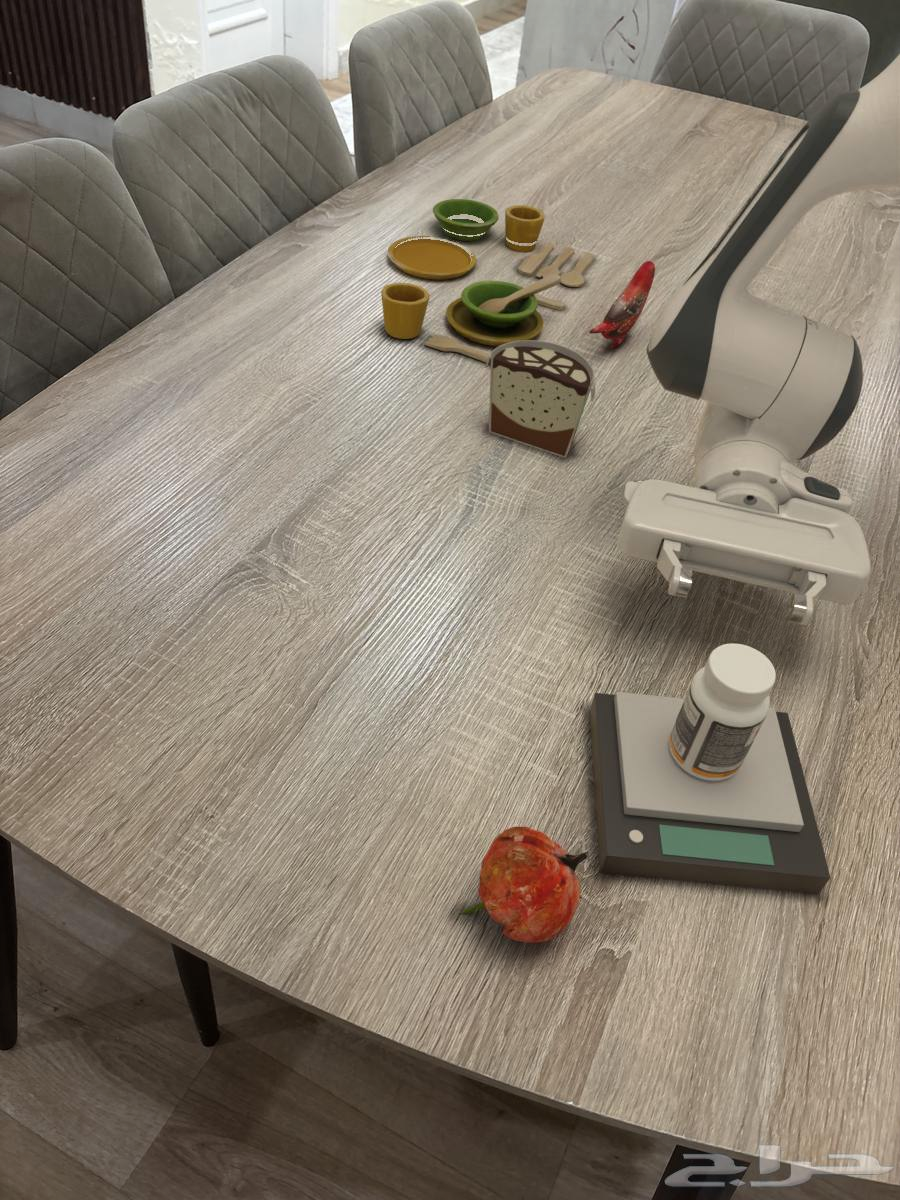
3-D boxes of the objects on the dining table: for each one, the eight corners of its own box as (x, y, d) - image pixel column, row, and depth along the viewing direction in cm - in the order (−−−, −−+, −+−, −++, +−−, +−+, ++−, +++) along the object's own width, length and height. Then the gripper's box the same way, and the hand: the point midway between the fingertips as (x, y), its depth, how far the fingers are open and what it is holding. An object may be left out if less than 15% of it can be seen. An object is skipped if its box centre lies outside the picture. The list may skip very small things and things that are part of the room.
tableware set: (511, 379, 115) (519, 332, 111) (311, 319, 121) (311, 272, 117) (604, 257, 143) (613, 215, 139) (438, 213, 150) (442, 172, 145)
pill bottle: (751, 747, 73) (796, 662, 66) (723, 797, 69) (768, 712, 62) (684, 711, 75) (721, 625, 68) (654, 758, 71) (689, 671, 64)
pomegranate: (487, 985, 63) (621, 942, 60) (428, 931, 60) (568, 883, 56) (486, 890, 69) (608, 847, 66) (432, 836, 65) (559, 787, 62)
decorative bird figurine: (648, 329, 128) (667, 259, 121) (589, 381, 117) (606, 306, 110) (629, 322, 129) (647, 252, 122) (569, 373, 118) (584, 298, 111)
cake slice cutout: (595, 436, 108) (614, 358, 101) (578, 463, 104) (596, 384, 97) (497, 404, 111) (508, 326, 104) (476, 429, 107) (487, 350, 100)
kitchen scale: (777, 731, 79) (792, 704, 76) (818, 895, 68) (836, 870, 66) (588, 711, 78) (597, 684, 76) (599, 873, 68) (609, 847, 65)
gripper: (633, 446, 82) (617, 544, 72) (870, 496, 80) (886, 604, 70) (618, 503, 87) (600, 602, 77) (842, 552, 84) (853, 661, 75)
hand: (739, 604), depth 74 cm, fingers open, 8 cm apart
